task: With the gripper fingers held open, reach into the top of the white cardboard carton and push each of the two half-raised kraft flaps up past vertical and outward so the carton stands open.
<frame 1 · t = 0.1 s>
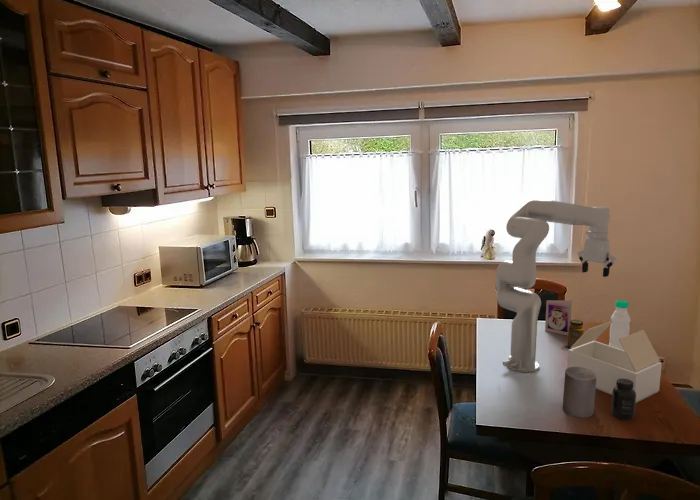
hand: (595, 274, 226), 31 cm above the table, tool pointing down, fingers open, 9 cm apart
near flap: (639, 349, 181), point 17 cm above the table, hinge at 55.0°
far flap: (591, 334, 196), point 17 cm above the table, hinge at 55.0°
supplement bottle: (622, 415, 170), on the table
pillar candle: (578, 411, 174), on the table
condiment: (573, 348, 226), on the table
water bottle: (617, 360, 212), on the table
greeting card: (559, 331, 245), on the table
carton: (611, 383, 192), on the table
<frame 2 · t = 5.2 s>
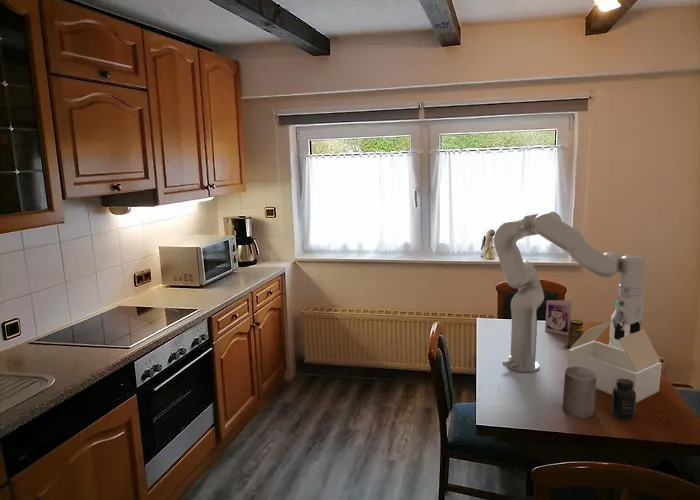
hand: (626, 336, 184), 20 cm above the table, tool pointing down
near flap: (639, 349, 181), point 17 cm above the table, hinge at 56.5°, touching gripper
everything else where it was.
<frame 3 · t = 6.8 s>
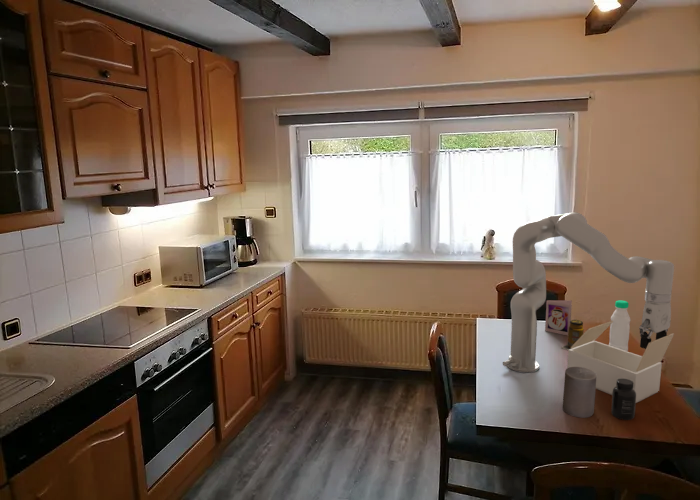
hand: (652, 345, 177), 20 cm above the table, tool pointing down
near flap: (655, 352, 176), point 17 cm above the table, hinge at 106.5°, touching gripper
everything else where it was.
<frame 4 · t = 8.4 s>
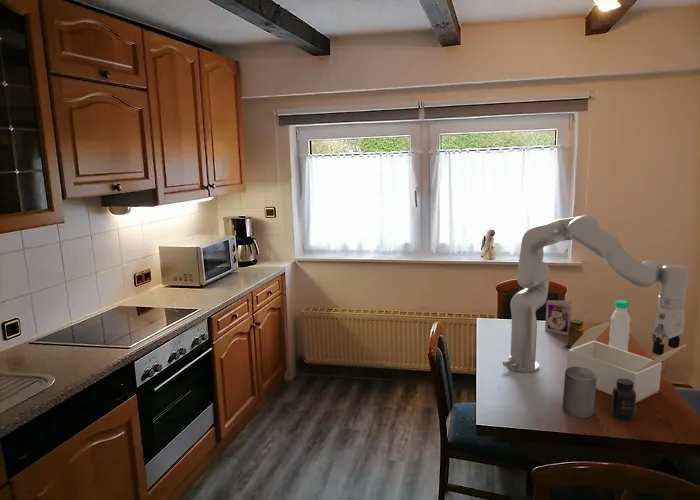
hand: (665, 350, 173), 19 cm above the table, tool pointing down
near flap: (661, 358, 175), point 16 cm above the table, hinge at 130.9°, touching gripper
everything else where it was.
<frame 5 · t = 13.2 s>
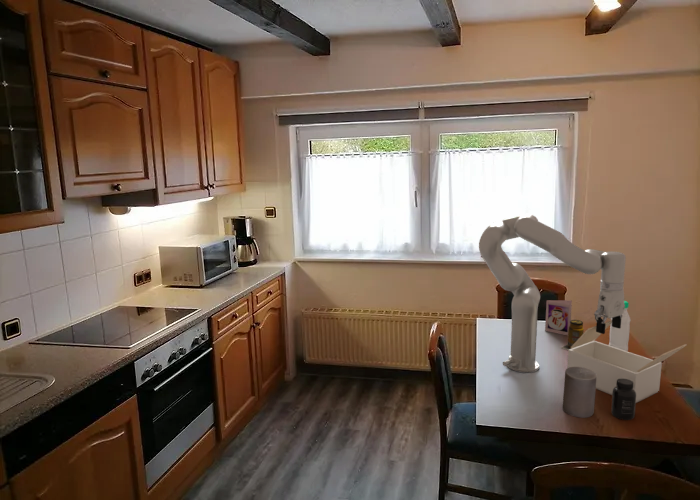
hand: (608, 330, 192), 19 cm above the table, tool pointing down
near flap: (661, 358, 175), point 16 cm above the table, hinge at 131.0°
far flap: (591, 334, 196), point 17 cm above the table, hinge at 55.5°, touching gripper
everything else where it was.
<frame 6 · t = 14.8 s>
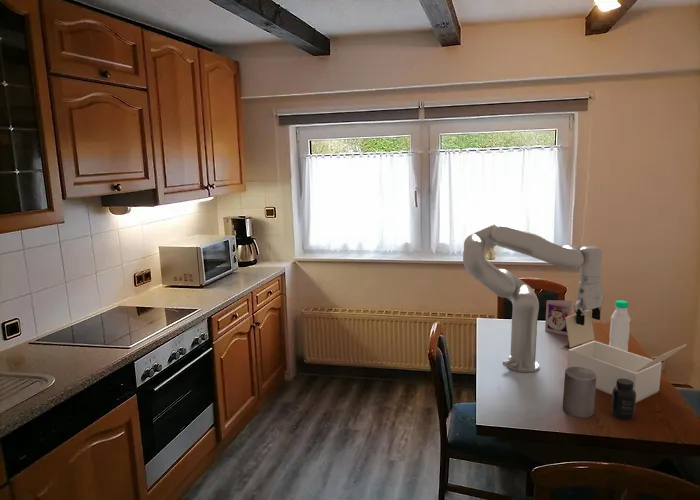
hand: (588, 321, 200), 20 cm above the table, tool pointing down, fingers open, 9 cm apart
far flap: (580, 328, 200), point 17 cm above the table, hinge at 103.3°, touching gripper
everything else where it was.
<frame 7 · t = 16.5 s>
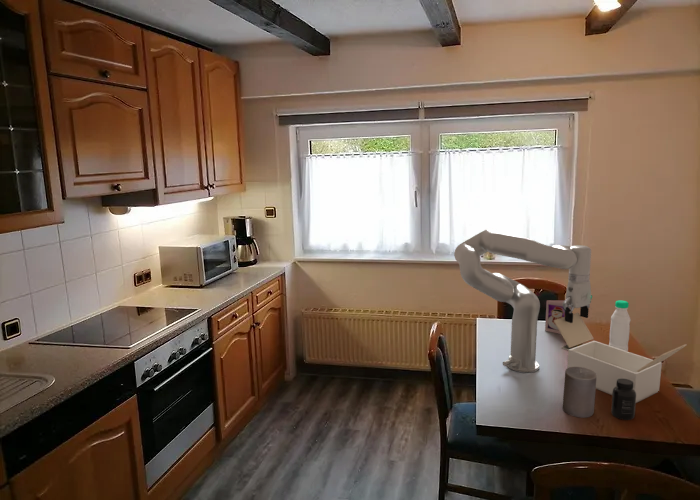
hand: (576, 319, 204), 19 cm above the table, tool pointing down, fingers open, 9 cm apart
far flap: (573, 329, 202), point 16 cm above the table, hinge at 130.5°, touching gripper
everything else where it was.
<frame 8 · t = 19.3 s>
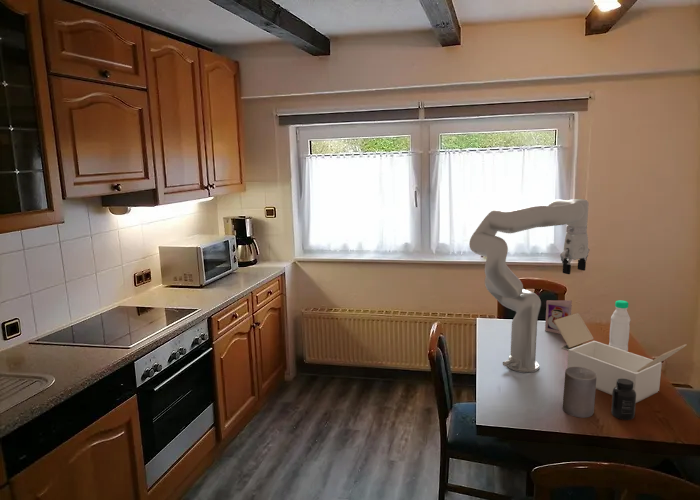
hand: (573, 271, 210), 36 cm above the table, tool pointing down, fingers open, 9 cm apart
far flap: (573, 329, 202), point 16 cm above the table, hinge at 130.6°
everything else where it was.
at the end: near flap at +131° (first picture: +55°); far flap at +131° (first picture: +55°) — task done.
